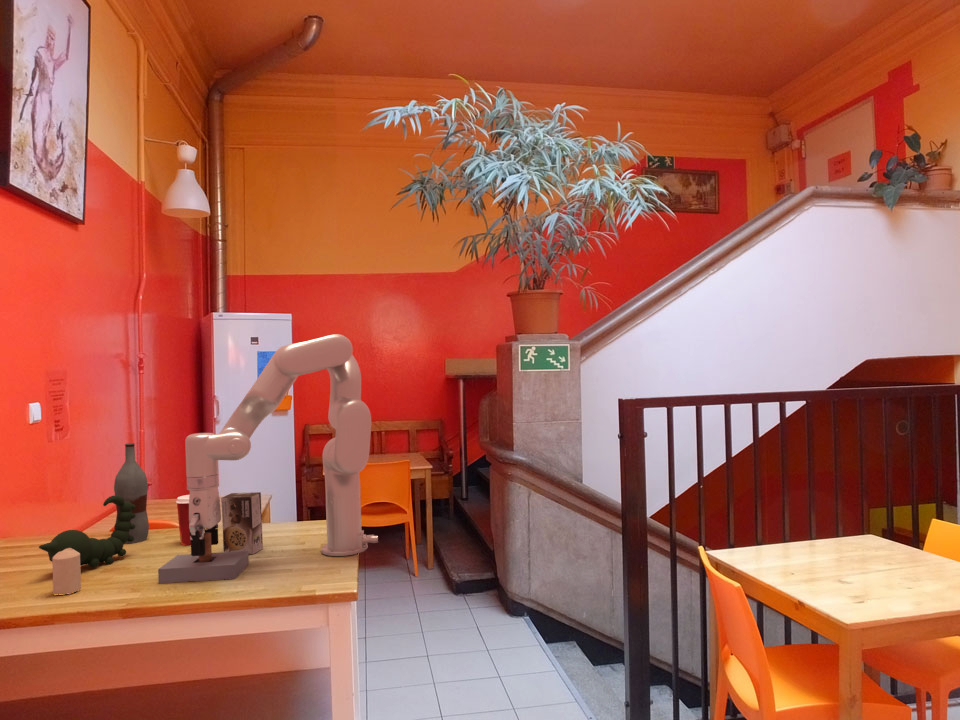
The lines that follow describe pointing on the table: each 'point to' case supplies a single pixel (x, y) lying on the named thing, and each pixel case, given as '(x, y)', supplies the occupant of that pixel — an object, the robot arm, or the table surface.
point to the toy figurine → (92, 547)
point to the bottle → (133, 493)
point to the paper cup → (184, 519)
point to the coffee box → (242, 522)
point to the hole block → (203, 567)
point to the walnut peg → (207, 549)
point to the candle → (66, 572)
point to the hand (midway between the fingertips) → (205, 549)
